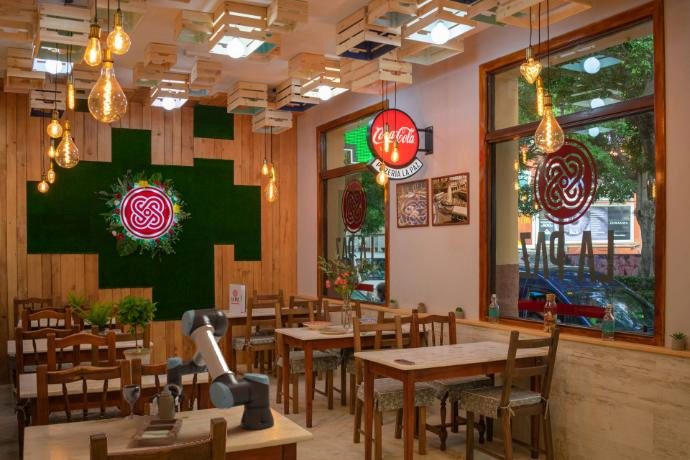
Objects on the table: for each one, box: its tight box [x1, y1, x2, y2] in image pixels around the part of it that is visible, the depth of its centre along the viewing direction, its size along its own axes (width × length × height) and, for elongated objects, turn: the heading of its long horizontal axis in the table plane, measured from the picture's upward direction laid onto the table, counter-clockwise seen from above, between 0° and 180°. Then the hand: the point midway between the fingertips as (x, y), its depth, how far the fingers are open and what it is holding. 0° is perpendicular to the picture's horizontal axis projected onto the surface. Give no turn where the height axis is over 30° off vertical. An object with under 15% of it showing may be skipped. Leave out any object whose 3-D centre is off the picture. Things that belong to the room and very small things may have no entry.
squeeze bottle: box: [157, 383, 176, 420], centre depth 307 cm, size 8×8×18 cm
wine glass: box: [122, 384, 141, 420], centre depth 319 cm, size 8×8×15 cm
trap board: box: [132, 417, 183, 448], centre depth 285 cm, size 32×16×3 cm, turn 7°
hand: (164, 403), depth 302 cm, fingers open, 9 cm apart
